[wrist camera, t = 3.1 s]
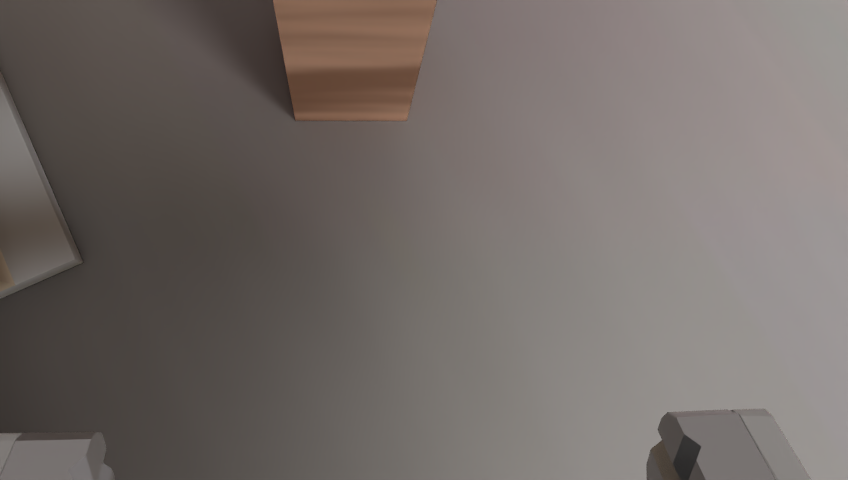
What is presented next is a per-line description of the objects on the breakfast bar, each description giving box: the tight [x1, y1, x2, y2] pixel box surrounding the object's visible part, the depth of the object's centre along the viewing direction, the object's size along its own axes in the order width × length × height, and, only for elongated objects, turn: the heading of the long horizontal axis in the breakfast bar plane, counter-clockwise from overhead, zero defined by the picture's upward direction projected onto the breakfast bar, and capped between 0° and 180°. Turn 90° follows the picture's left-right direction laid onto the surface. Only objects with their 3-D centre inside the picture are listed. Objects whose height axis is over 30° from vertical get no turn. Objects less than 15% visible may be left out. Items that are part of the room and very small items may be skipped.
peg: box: [273, 0, 437, 121], centre depth 23 cm, size 4×4×10 cm
